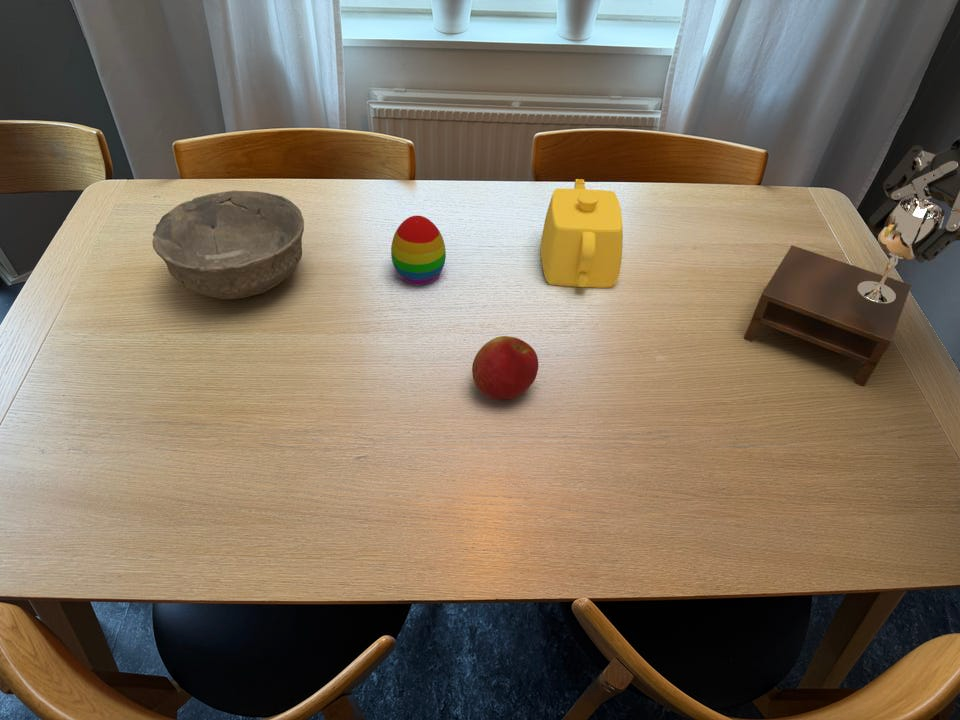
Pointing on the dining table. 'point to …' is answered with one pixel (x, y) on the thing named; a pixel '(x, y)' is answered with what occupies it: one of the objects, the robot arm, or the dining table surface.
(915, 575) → the dining table surface
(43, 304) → the dining table surface
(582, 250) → the teapot
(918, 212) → the wineglass
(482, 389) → the apple
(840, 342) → the shelf
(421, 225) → the decorative egg
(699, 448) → the dining table surface
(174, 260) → the bowl
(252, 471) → the dining table surface
